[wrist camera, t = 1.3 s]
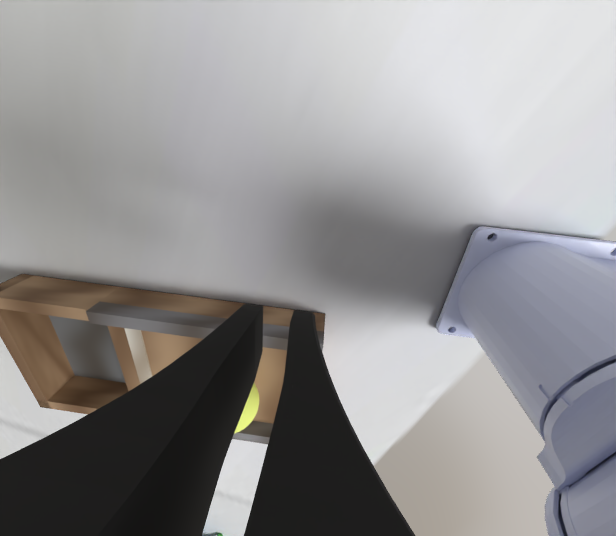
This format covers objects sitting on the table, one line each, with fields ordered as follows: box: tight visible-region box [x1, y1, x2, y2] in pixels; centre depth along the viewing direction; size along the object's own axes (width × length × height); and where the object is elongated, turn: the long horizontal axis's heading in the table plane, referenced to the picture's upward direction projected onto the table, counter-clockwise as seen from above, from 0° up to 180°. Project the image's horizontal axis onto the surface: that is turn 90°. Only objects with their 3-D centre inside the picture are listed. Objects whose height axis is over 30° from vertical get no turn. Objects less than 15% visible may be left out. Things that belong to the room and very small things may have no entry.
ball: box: [235, 384, 259, 433], centre depth 20 cm, size 4×4×4 cm
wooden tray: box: [0, 274, 325, 444], centre depth 22 cm, size 24×12×3 cm, turn 85°
